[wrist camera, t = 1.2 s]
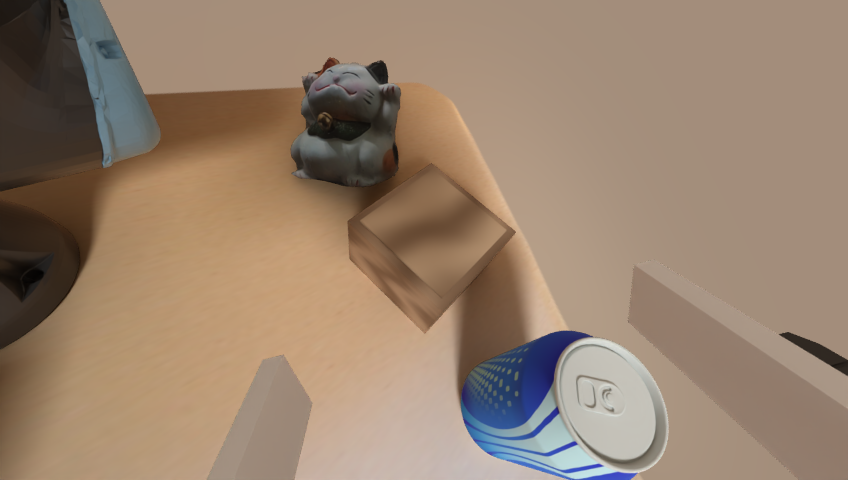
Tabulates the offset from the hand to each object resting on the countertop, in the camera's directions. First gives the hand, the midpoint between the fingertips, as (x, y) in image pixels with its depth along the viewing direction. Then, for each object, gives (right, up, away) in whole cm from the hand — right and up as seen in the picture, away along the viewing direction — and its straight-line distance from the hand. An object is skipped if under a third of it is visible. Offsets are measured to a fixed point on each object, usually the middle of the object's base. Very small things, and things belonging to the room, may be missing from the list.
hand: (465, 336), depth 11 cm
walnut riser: (-2, +1, +25) cm, 25 cm away
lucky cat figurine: (-13, +15, +31) cm, 37 cm away
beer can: (+6, -13, +19) cm, 24 cm away
